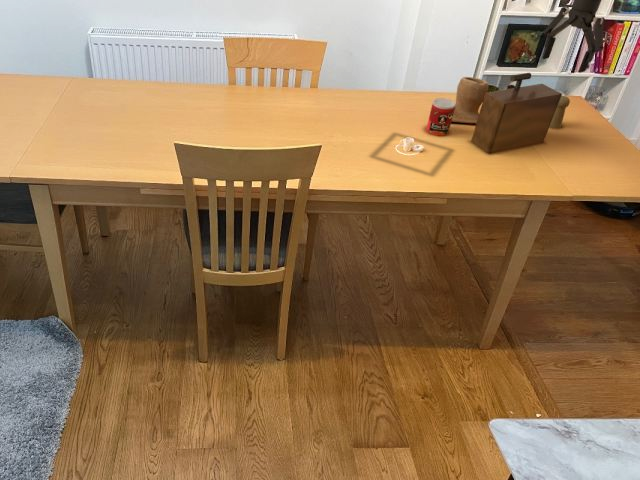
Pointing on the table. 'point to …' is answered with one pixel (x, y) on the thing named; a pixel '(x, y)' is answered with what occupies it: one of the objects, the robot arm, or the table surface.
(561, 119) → the cork
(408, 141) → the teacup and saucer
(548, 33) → the robot arm
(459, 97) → the tan brown vase
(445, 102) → the canned food
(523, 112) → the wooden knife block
